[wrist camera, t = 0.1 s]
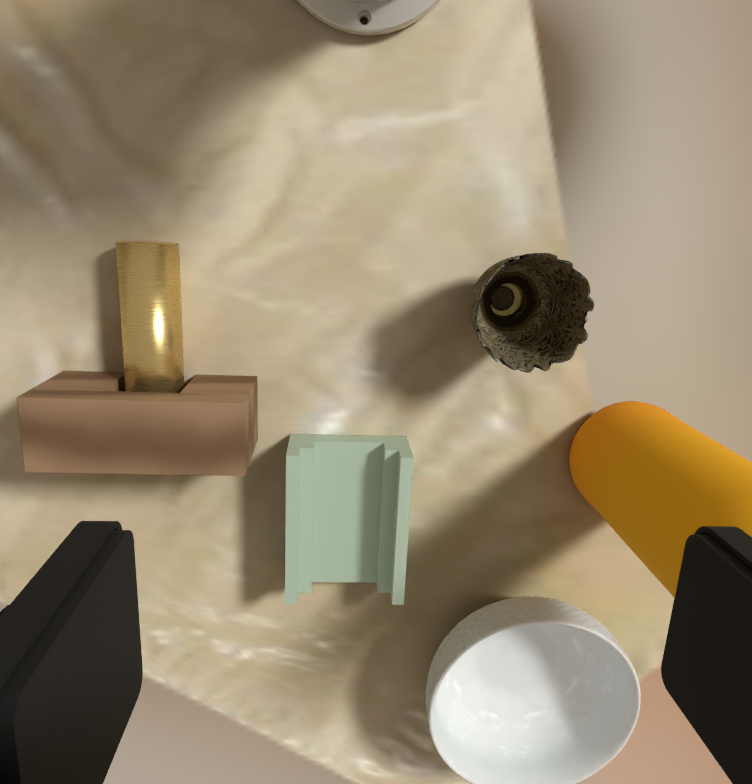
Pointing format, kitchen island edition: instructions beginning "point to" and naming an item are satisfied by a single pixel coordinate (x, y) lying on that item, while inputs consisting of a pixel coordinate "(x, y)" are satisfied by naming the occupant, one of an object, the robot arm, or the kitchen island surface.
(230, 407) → the beam
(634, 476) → the beer bottle
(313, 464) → the v block
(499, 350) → the cup
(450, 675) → the cereal bowl
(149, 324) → the axle
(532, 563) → the kitchen island surface
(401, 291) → the kitchen island surface
